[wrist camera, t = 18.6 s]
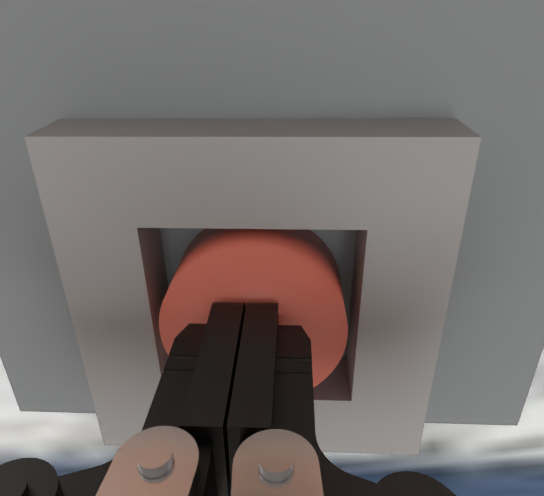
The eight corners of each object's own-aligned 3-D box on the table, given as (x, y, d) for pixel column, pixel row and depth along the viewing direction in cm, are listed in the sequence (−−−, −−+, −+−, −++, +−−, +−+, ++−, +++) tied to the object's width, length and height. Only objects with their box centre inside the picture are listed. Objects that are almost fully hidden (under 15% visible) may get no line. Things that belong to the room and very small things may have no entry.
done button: (169, 211, 12) (146, 249, 10) (345, 213, 12) (354, 252, 10) (186, 349, 14) (170, 399, 12) (335, 352, 14) (341, 404, 12)
